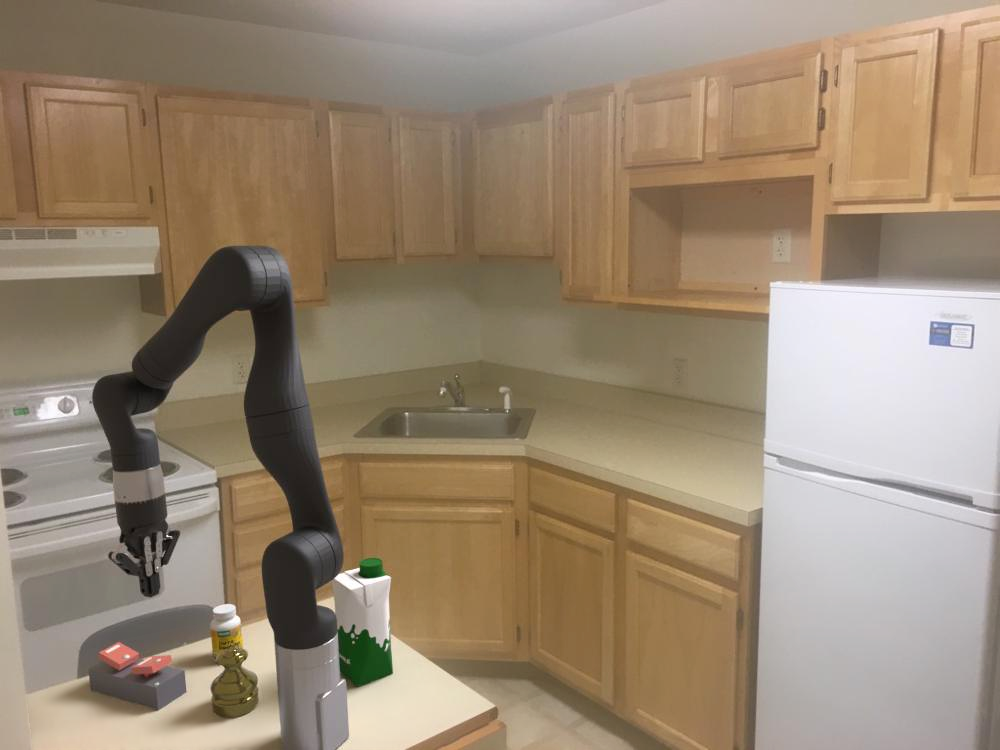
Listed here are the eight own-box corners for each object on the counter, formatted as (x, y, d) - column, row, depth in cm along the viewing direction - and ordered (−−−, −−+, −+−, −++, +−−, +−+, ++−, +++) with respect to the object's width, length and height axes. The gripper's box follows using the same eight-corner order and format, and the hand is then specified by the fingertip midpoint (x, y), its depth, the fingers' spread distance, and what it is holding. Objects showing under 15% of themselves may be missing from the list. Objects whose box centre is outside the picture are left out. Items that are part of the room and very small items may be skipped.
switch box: (186, 691, 135) (184, 669, 134) (158, 710, 130) (156, 687, 129) (120, 673, 142) (117, 652, 141) (90, 690, 136) (88, 668, 136)
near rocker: (173, 665, 134) (170, 654, 134) (154, 677, 130) (151, 665, 130) (153, 666, 136) (150, 655, 136) (134, 678, 132) (130, 666, 132)
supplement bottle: (239, 647, 150) (235, 599, 149) (247, 658, 146) (243, 609, 144) (209, 655, 147) (205, 607, 146) (217, 667, 143) (213, 617, 141)
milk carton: (400, 674, 139) (395, 566, 136) (353, 692, 134) (347, 580, 131) (376, 654, 146) (371, 551, 143) (331, 671, 141) (324, 564, 138)
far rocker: (138, 662, 138) (139, 652, 137) (118, 674, 134) (119, 663, 133) (118, 651, 139) (118, 641, 139) (98, 661, 136) (99, 651, 135)
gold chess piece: (268, 697, 133) (264, 642, 131) (240, 722, 126) (235, 663, 124) (232, 690, 135) (228, 635, 134) (202, 714, 128) (197, 656, 127)
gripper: (121, 507, 121) (134, 615, 123) (188, 484, 133) (198, 582, 135) (87, 503, 124) (100, 608, 126) (155, 481, 136) (166, 577, 138)
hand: (151, 594), depth 131 cm, fingers closed
